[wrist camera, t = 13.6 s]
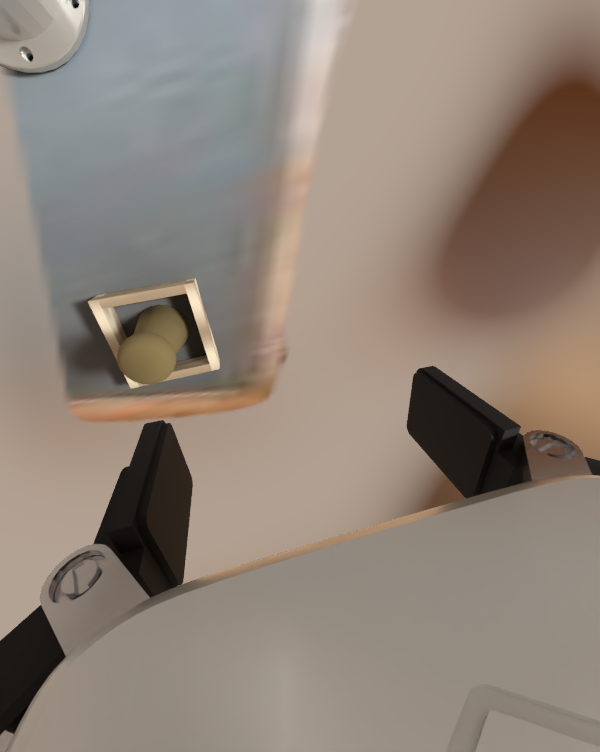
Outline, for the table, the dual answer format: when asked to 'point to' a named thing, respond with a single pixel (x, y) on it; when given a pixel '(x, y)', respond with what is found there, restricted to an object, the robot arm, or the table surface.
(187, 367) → the beige square frame
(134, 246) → the table surface
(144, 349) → the cork
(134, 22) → the table surface
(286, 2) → the table surface
